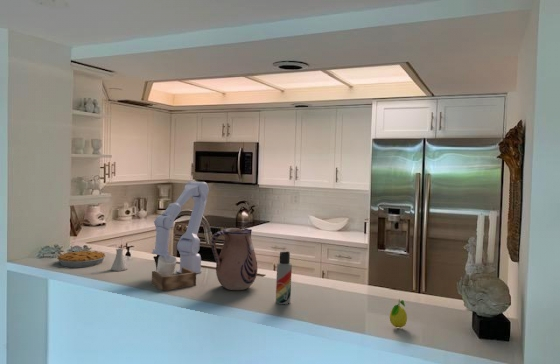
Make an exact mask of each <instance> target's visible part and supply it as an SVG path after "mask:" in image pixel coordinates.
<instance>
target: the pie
mask: <svg viewBox="0 0 560 364" xmlns="http://www.w3.org/2000/svg"><path fill="white" fill-rule="evenodd" d="M105 258H106V254H105V253H104V252H100V251H99V252H98V251H97V250H95V251H91V250H86V251H85V250H81V251H71V252H66V253H63V254H59V255H58V257H57V260H58V261H59V263H60V264H61V266H63V267H71V268H86V267H93V266H98V265H100V264H101V263H103V261H104V259H105Z"/></svg>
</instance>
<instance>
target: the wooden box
mask: <svg viewBox="0 0 560 364" xmlns="http://www.w3.org/2000/svg"><path fill="white" fill-rule="evenodd" d="M151 285H152V286H154V287H156V288H157V289H159V290H161V291H169V290H175V289H182V288H187V287H193V286H197V273H196V272H194V271H191V270H189V269H187V268H185V267H182V269H181V273H179V274H173V275H172V276H163V275H161V274H159V273H157V271H156V270H153V271H151Z"/></svg>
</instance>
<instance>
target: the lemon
mask: <svg viewBox="0 0 560 364" xmlns="http://www.w3.org/2000/svg"><path fill="white" fill-rule="evenodd" d="M398 303H399V304H401V305H402V306H403V307H406V305H405V304H406V303H405V301H404V300H401V301H400V298H399V299H398ZM399 304H395V305H394V306H393V307H392V308H391V310H390V313H389V321H390V323H391V325H392V326H394V327H395V328H396V327H400V328H403V327H405V326H406V325H407V322H408V317H407V316H408V315H407V312H406V310H405V309H404V308H403V307H402V306H401V305H399Z"/></svg>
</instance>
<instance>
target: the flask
mask: <svg viewBox="0 0 560 364" xmlns="http://www.w3.org/2000/svg"><path fill="white" fill-rule="evenodd" d="M115 251H116V254H115V257H114V258H115V259H114V260H113V263H112V266H111V267H110V270H111V271H115V272H121V271H125V270H128V266H127V264H126V262H125V261H126V260H125V257H124V254H123V251H124V248H116V249H115Z"/></svg>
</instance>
